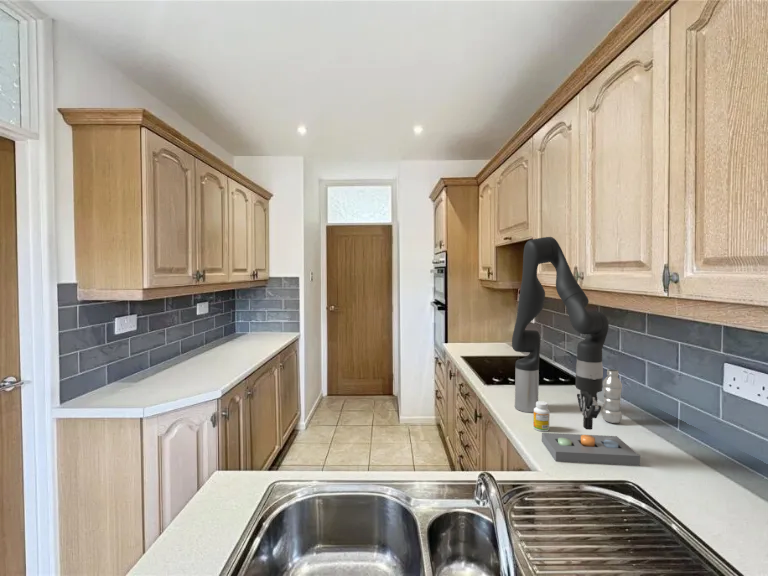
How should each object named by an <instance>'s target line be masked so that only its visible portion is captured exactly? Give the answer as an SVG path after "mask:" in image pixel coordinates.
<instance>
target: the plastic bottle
mask: <svg viewBox="0 0 768 576" xmlns="http://www.w3.org/2000/svg"><path fill="white" fill-rule="evenodd" d="M606 375H607V376H606V377H605V378H603V385H602V391H603V407H602V409H601V416H602V417H601V418H602V419H603V420H604V421H605V422H607V423H611V424H612V423H613V424H619V423H621V421H622V420H623V416H622V415H623V413H622V411H621V410H622V409H621V408H622V407H621V396H622V390H623V384H622V381H621V380H620V378H619V370H617V369H611V368H608V369H607V371H606Z"/></svg>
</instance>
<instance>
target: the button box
mask: <svg viewBox="0 0 768 576" xmlns="http://www.w3.org/2000/svg"><path fill="white" fill-rule="evenodd" d="M581 435H582V434H575V433H557V432H556V433H555V432H554V433H553V432H551V433H550V432H541V442H542V444H543V445H544V447H545V448H546V450H547V451H548V452H549V454H550V455H551V457H552V459H553V460H554V461H555V462H558V463H559V462H561V463H579V464H598V465H616V466H635V467H636V466H637V467H641V466H640V465H641V455H640V454H639V453H637V452H636V451H635V450H634V449H633V448H632V447H630V446H629V445H628V444H627V443H626V442H625V441H623V440H622V439H621V438H620V437H618V435H599V434H598V435H597V434H589V435H590V436H593V437H594V438H595V447H585V446H582V445H581ZM558 438H567V439H570V440H571V441H572V446H564V445H559V444H558ZM604 440H612V441H615V442H617V443H618V448H607V447H606V446H605V445H604Z"/></svg>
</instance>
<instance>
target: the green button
mask: <svg viewBox="0 0 768 576" xmlns="http://www.w3.org/2000/svg"><path fill="white" fill-rule="evenodd" d="M558 444H559V445H564V446H572V441H571V440H570V439H567V438H558Z"/></svg>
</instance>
